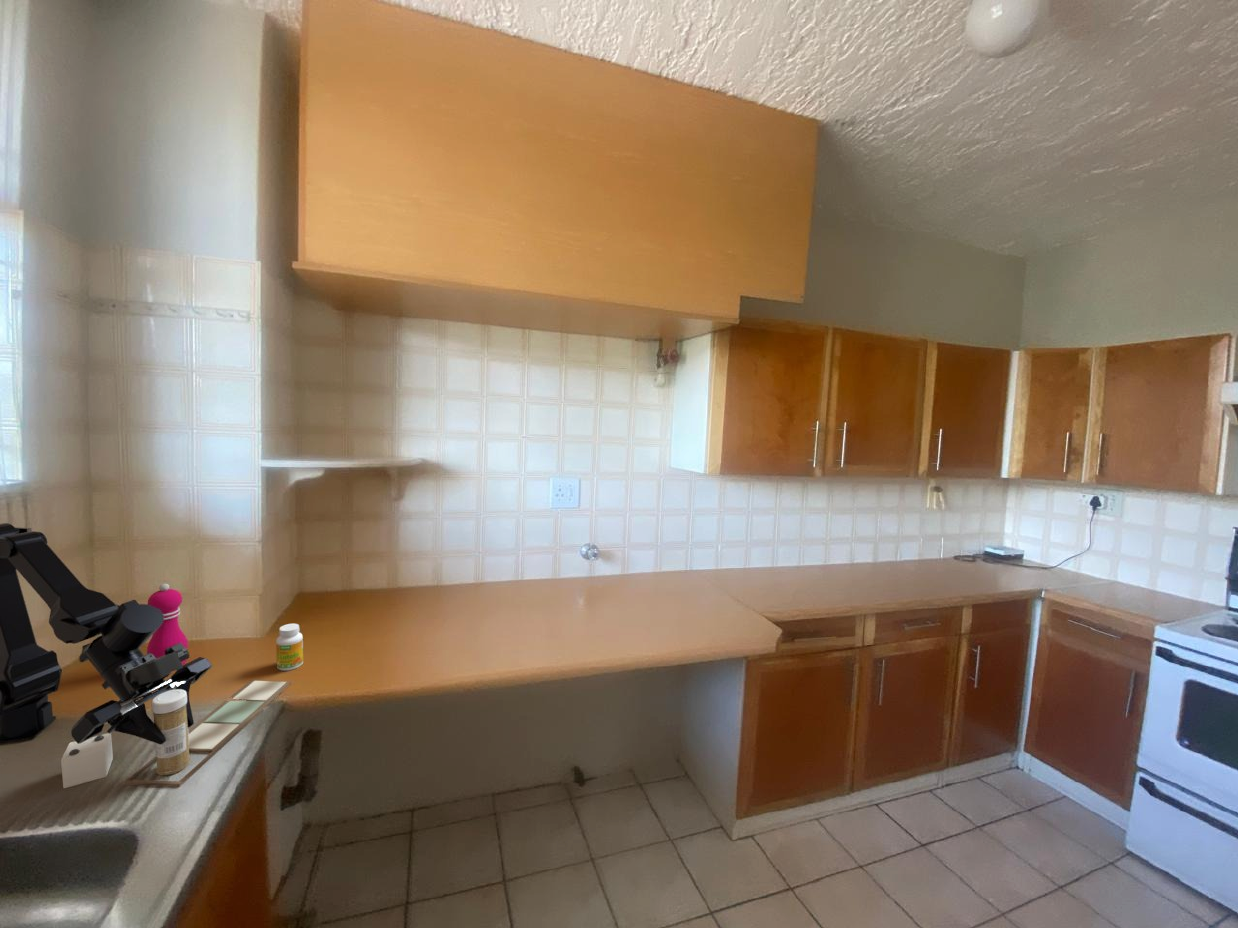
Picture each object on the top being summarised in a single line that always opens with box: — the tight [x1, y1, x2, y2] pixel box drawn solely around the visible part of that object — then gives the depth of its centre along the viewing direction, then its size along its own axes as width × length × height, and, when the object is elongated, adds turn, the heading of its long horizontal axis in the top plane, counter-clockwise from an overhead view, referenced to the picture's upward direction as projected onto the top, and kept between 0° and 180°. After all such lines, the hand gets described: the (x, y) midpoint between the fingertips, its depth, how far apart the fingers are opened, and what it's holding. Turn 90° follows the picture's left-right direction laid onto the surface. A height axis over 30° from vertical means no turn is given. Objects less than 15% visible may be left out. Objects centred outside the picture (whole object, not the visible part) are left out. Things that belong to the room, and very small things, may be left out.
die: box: [60, 732, 114, 789], centre depth 85 cm, size 5×5×6 cm
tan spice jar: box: [150, 689, 191, 776], centre depth 87 cm, size 5×5×14 cm
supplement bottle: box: [275, 623, 304, 672], centre depth 121 cm, size 5×5×10 cm
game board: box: [123, 680, 293, 787], centre depth 99 cm, size 9×30×1 cm, turn 2°
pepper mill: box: [146, 583, 189, 665], centre depth 118 cm, size 7×7×20 cm
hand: (177, 733), depth 87 cm, fingers closed on tan spice jar, 4 cm apart
